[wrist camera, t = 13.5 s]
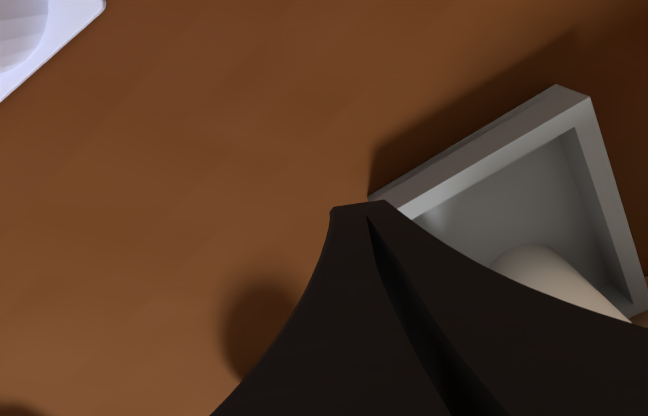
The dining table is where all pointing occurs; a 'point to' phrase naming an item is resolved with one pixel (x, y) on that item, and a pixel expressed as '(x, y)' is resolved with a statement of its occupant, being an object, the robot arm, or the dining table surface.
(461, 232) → the tray
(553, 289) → the beige rounded lump
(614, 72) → the dining table surface
